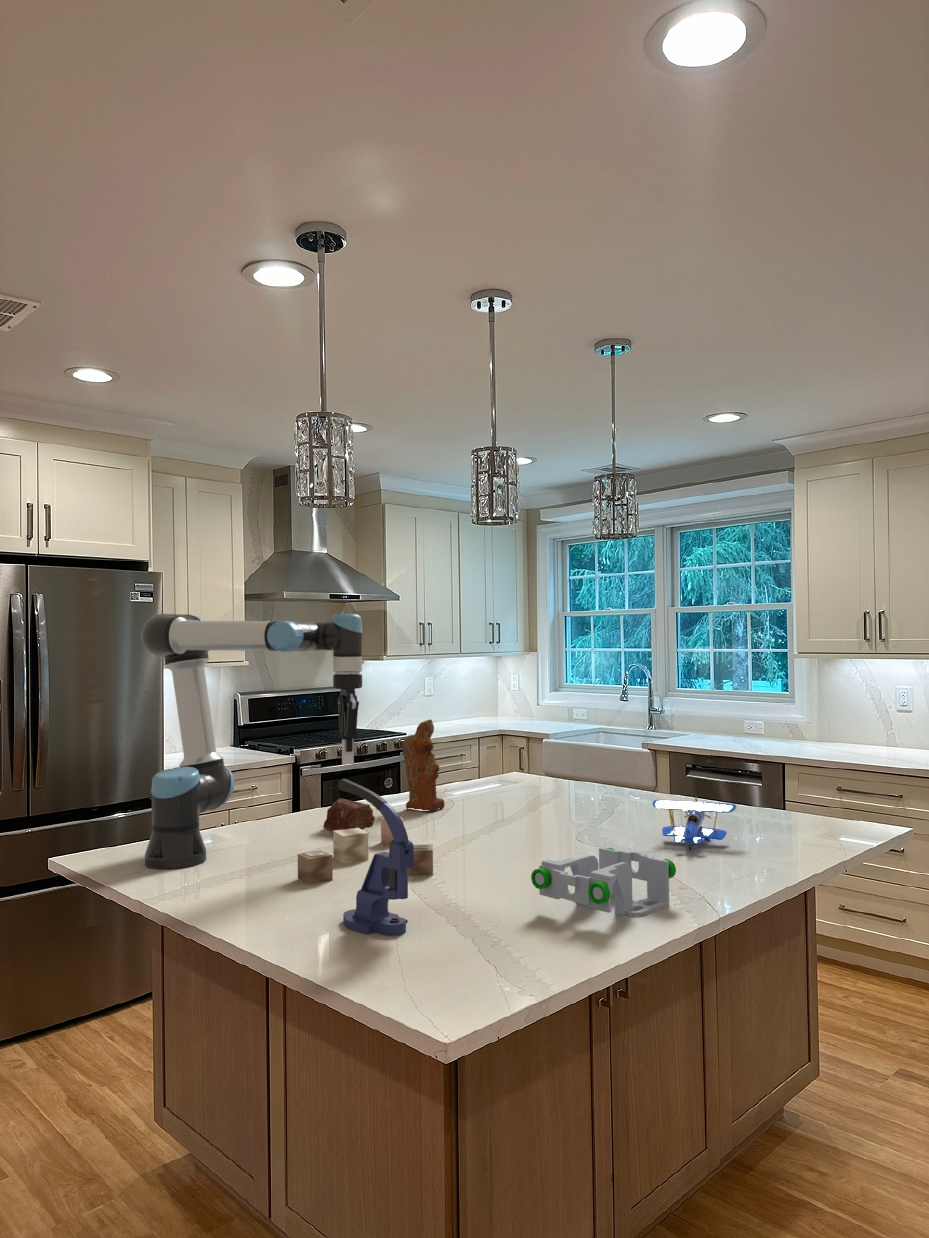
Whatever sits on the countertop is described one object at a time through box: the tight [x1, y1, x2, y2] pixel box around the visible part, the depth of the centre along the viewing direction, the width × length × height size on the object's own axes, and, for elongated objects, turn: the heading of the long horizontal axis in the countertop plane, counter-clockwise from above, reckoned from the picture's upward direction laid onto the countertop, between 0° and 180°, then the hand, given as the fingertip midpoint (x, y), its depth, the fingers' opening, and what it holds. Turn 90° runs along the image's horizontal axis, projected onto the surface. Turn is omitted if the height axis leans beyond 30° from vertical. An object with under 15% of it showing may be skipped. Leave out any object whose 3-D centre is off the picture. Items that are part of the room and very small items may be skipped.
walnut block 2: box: [408, 843, 434, 877], centre depth 210 cm, size 6×6×6 cm
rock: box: [322, 797, 376, 832], centre depth 257 cm, size 18×6×9 cm, turn 53°
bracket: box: [530, 847, 677, 917], centre depth 180 cm, size 19×25×10 cm
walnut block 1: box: [297, 850, 334, 886], centre depth 204 cm, size 6×6×6 cm
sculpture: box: [401, 719, 445, 812], centre depth 289 cm, size 13×9×30 cm
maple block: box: [332, 828, 369, 864], centre depth 224 cm, size 7×7×7 cm
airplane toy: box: [652, 796, 737, 851], centre depth 236 cm, size 25×22×13 cm
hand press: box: [338, 778, 414, 937], centre depth 171 cm, size 19×9×28 cm, turn 50°
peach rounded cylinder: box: [380, 816, 404, 846], centre depth 241 cm, size 6×6×7 cm
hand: (347, 763), depth 225 cm, fingers closed
